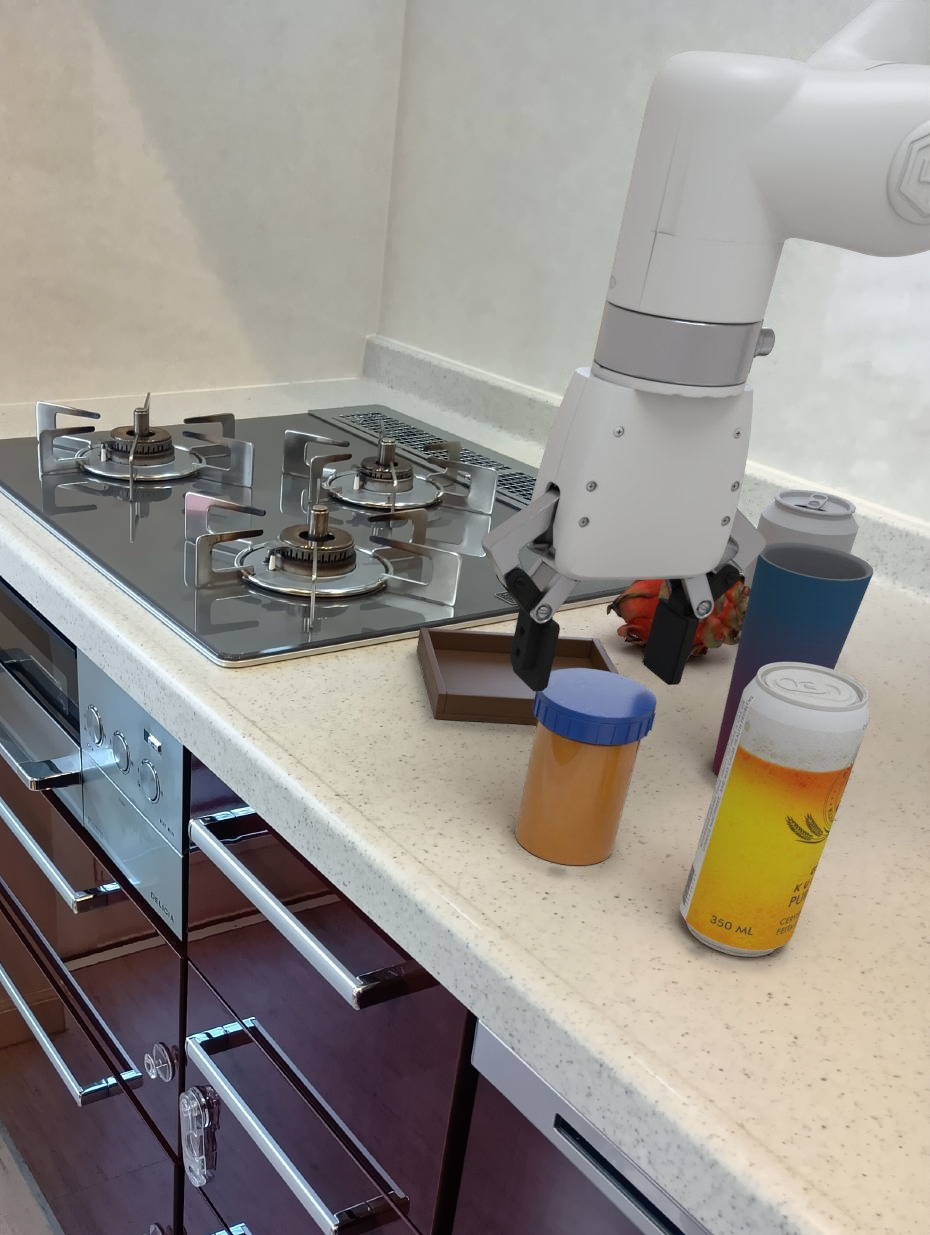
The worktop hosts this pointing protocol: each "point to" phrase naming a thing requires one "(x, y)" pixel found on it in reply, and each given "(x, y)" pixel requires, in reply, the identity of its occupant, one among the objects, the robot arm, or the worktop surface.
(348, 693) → the worktop surface
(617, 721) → the lid
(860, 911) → the worktop surface
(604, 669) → the tray
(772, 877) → the beer can
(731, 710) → the cup
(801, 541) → the can
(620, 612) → the dragon fruit
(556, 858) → the jar
